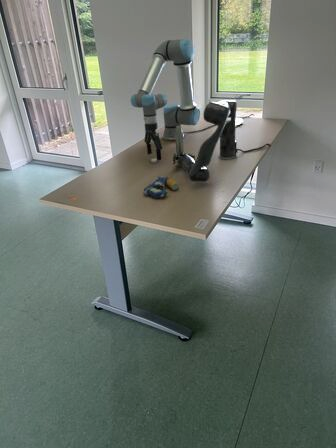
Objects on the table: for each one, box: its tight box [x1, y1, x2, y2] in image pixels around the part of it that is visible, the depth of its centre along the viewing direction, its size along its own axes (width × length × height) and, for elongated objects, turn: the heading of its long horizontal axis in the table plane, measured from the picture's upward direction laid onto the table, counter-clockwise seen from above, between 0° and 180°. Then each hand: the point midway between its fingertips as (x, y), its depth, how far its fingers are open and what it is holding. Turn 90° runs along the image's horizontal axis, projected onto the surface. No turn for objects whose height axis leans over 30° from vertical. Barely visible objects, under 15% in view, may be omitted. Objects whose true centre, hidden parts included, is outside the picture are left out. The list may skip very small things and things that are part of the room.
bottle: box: [175, 125, 185, 168], centre depth 194 cm, size 4×4×24 cm
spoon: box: [236, 117, 244, 127], centre depth 260 cm, size 35×11×2 cm, turn 159°
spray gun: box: [143, 175, 180, 199], centre depth 172 cm, size 21×4×15 cm
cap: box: [150, 157, 159, 164], centre depth 209 cm, size 4×4×2 cm
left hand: (154, 157), depth 208 cm, fingers open, 13 cm apart
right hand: (178, 154), depth 199 cm, fingers closed on bottle, 4 cm apart
